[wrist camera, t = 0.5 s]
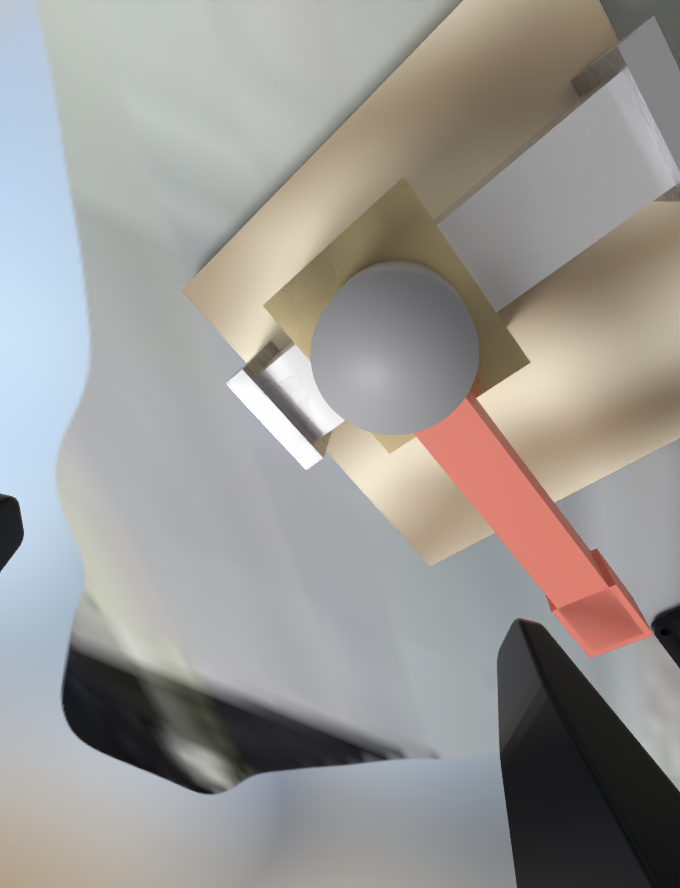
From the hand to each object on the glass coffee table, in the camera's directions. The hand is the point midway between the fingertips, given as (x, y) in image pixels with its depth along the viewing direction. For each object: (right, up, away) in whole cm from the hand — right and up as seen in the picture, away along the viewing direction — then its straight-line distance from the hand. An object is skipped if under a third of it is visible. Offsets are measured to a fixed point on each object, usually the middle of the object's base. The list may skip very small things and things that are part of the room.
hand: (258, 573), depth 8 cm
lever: (+6, +2, +6) cm, 9 cm away
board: (+6, +7, +10) cm, 13 cm away
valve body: (+5, +8, +9) cm, 13 cm away
